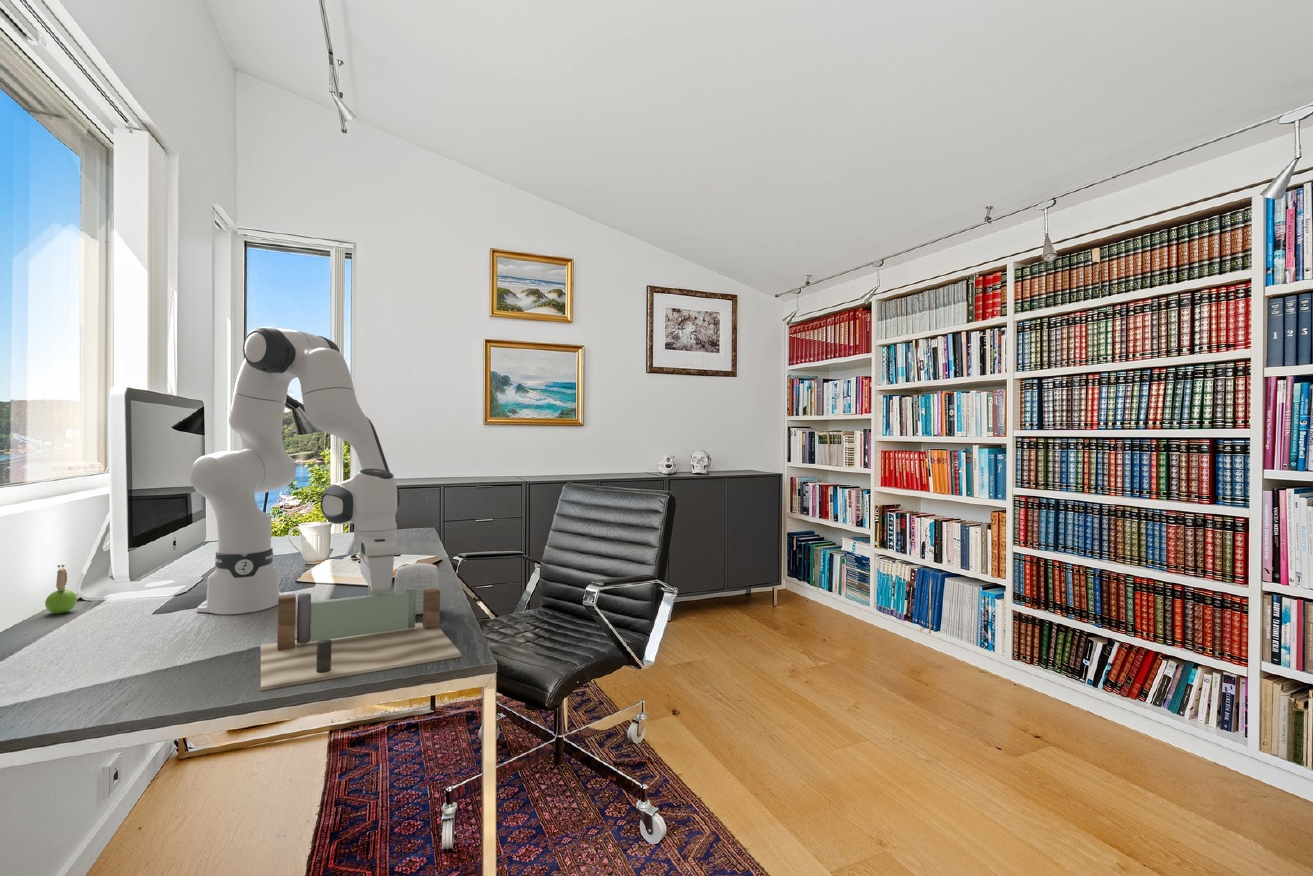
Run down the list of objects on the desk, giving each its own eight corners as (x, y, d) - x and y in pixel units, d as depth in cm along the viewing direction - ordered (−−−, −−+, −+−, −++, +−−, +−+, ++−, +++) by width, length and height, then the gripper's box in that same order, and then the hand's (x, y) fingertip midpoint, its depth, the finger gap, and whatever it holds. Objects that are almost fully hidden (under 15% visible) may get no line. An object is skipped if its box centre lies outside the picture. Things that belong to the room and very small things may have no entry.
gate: (297, 644, 128) (298, 596, 128) (296, 640, 130) (297, 594, 130) (416, 627, 140) (417, 584, 140) (413, 624, 142) (414, 582, 142)
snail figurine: (43, 619, 142) (44, 566, 142) (45, 612, 147) (46, 561, 147) (76, 614, 146) (77, 563, 146) (77, 608, 151) (78, 558, 150)
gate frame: (260, 647, 129) (261, 594, 129) (433, 623, 147) (434, 577, 147) (260, 690, 109) (261, 627, 108) (461, 656, 127) (462, 602, 127)
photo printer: (434, 608, 159) (436, 560, 159) (439, 612, 156) (440, 563, 156) (391, 614, 154) (392, 563, 153) (395, 618, 150) (396, 567, 150)
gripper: (354, 534, 148) (353, 593, 148) (366, 550, 131) (365, 616, 131) (382, 533, 151) (381, 589, 152) (398, 547, 134) (397, 612, 134)
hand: (374, 602), depth 141 cm, fingers closed
